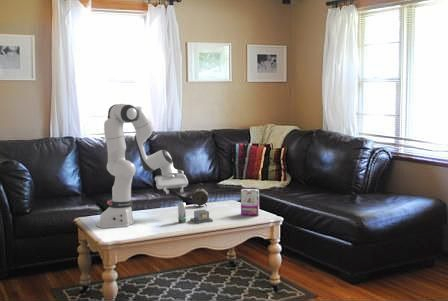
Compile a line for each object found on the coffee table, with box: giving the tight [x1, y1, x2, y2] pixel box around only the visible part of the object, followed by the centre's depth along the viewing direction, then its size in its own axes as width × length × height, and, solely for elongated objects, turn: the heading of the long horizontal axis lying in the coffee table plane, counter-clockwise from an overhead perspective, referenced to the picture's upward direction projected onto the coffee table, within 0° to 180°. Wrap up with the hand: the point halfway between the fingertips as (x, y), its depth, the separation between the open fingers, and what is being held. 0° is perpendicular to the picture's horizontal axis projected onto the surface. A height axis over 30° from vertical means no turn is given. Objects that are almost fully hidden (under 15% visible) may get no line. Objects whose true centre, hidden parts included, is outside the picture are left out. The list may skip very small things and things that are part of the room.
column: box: [177, 201, 187, 224], centre depth 334 cm, size 5×5×12 cm
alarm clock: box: [191, 182, 210, 208], centre depth 377 cm, size 11×5×16 cm, turn 84°
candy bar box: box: [240, 188, 260, 217], centre depth 352 cm, size 11×5×16 cm, turn 76°
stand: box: [190, 209, 214, 224], centre depth 337 cm, size 11×9×6 cm
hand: (175, 192), depth 343 cm, fingers open, 8 cm apart
